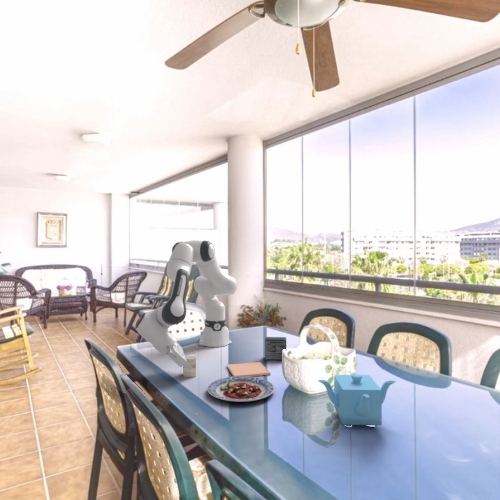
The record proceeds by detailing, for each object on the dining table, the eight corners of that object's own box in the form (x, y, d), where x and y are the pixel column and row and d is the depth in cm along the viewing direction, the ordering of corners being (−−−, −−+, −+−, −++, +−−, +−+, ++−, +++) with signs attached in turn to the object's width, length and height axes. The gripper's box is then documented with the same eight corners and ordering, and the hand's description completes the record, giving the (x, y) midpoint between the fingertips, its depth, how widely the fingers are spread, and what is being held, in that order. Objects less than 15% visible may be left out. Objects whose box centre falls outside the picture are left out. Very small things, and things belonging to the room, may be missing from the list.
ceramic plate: (288, 392, 151) (288, 384, 151) (241, 413, 132) (241, 404, 132) (240, 377, 168) (240, 370, 168) (193, 393, 150) (193, 385, 150)
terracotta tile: (226, 366, 181) (226, 364, 181) (259, 364, 185) (259, 361, 185) (234, 378, 166) (234, 375, 166) (270, 374, 170) (270, 372, 170)
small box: (286, 357, 197) (286, 336, 196) (286, 361, 190) (286, 339, 190) (265, 356, 198) (265, 336, 197) (264, 360, 191) (264, 339, 191)
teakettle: (347, 404, 139) (347, 363, 139) (398, 421, 125) (398, 375, 125) (315, 421, 126) (315, 375, 126) (368, 442, 112) (368, 391, 112)
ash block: (183, 373, 172) (183, 355, 172) (194, 372, 173) (194, 354, 173) (184, 377, 167) (184, 359, 167) (196, 376, 168) (195, 358, 168)
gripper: (173, 344, 158) (198, 366, 160) (170, 333, 177) (192, 353, 180) (162, 356, 157) (187, 378, 159) (160, 343, 176) (182, 363, 179)
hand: (189, 365), depth 170 cm, fingers open, 7 cm apart
